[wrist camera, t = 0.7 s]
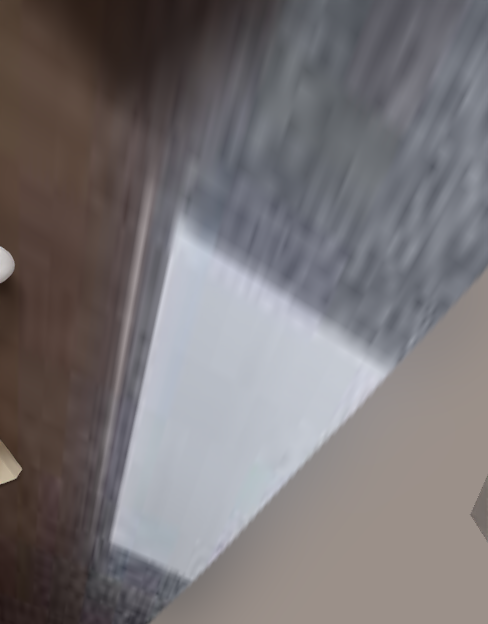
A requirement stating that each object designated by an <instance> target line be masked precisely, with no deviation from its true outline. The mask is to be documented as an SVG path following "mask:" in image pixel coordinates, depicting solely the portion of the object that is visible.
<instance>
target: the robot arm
mask: <svg viewBox="0 0 488 624" xmlns="http://www.w3.org/2000/svg"><path fill="white" fill-rule="evenodd" d="M471 517H472V518H473V520H474V521H475V523H476V524H477V526H478V527H479V529H480V531H481V532H482V534H483V535H484V537H485V538H486V540H487V542H488V476H487V478H486V480H485V482H484V485H483V487H482V489H481V492H480V494H479V496H478V498H477V501H476V503H475V505H474V507H473V510H472V512H471Z"/></svg>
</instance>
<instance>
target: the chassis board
mask: <svg viewBox="0 0 488 624" xmlns="http://www.w3.org/2000/svg"><path fill="white" fill-rule="evenodd" d="M21 470H22V468H21V467H20V465H19V464H18V462H17V461H16V460H15V458H14V457H13V456H12V454H11V453H10V452H9V450H8V449H7V448H6V446H5V445H4V443H3V442H2V441H1V439H0V484H3V483H6V482H8V481H11V480H14V479H16V478H17V477H18V475H19V473H20V472H21Z"/></svg>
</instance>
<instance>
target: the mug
mask: <svg viewBox="0 0 488 624" xmlns="http://www.w3.org/2000/svg"><path fill="white" fill-rule="evenodd" d="M14 268H15V263H14V260H13V258H12V256H11V254H10V253H9V252H8V251H6V250H5V249H4V248H2V247H1V246H0V283H2V282H4V281H5V280H6V279H7V278H9V277H10V276H11V275H12V273H13V271H14Z"/></svg>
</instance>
